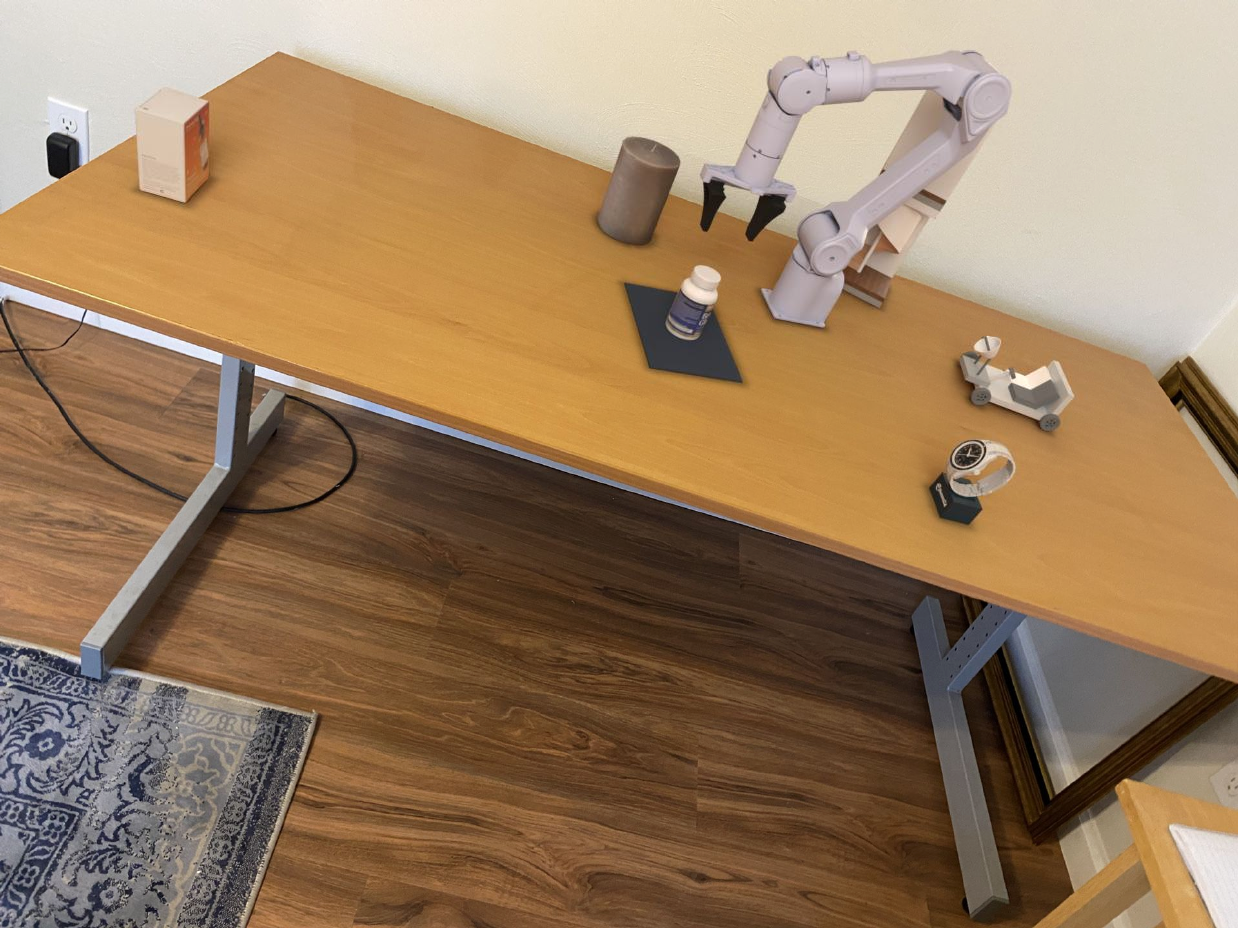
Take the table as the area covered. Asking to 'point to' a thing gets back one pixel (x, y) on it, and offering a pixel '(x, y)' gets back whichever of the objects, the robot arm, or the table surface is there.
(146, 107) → the small box
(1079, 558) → the table surface
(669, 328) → the pill bottle
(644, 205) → the pillar candle
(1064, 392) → the toy car
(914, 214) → the tall cream cabinet
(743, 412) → the table surface
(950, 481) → the watch
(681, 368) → the felt mat
